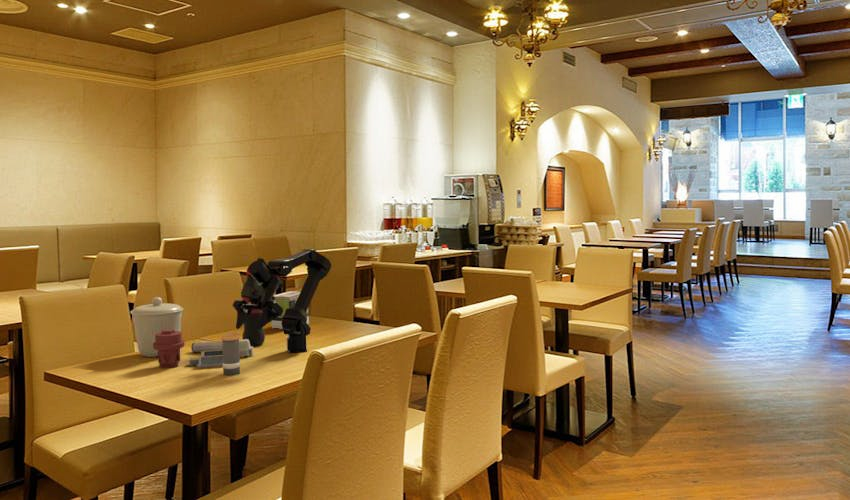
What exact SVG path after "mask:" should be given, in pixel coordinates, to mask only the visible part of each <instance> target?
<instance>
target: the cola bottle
mask: <svg viewBox="0 0 850 500" xmlns="http://www.w3.org/2000/svg"><path fill="white" fill-rule="evenodd" d="M246 275H247V276H246V281H245V282H244V284H243V286H242V289H243V287H253V288H255V287H256V286H260V285H261V283H258V282H257V281H256V280H255V279H254V278H253V277H252V276H251V274H250V273H249V272H248V268H246ZM242 289H241V291H240V294H241V293H242ZM241 300H245V301H246V302H247V303H248V304H251V302H249V301H248V298H246V297H241ZM261 315H262V311H259V310H252V312H251V313H250V314H249V316H250V317H249V318H248V319H247V320H246V321H245V322H244V324H243V327H244V328H243V332H242V340H245V339H248V340H249V342H250V346H251V347H259V346H261V345H263V344H264V343H265V338H266V334H265V330H264V327H262V328H261V329H260V330H257V329H256V327H257V324H258V322H259V320H260V318H261Z"/></svg>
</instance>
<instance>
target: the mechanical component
mask: <svg viewBox="0 0 850 500" xmlns="http://www.w3.org/2000/svg"><path fill="white" fill-rule="evenodd" d="M182 335H183V334H182V332H181V331H180V332H179V331H175V330H174V329H167V330H163V331H162V332H159V333H157V334H155V343H153V348H154V349H155V350H158V357H157V359H158V360H157V363H158V364H159V366H158V367H159V368H160V369H164V368H178V367H179V363H180V362H181V349H182V348H184V347H185V345H186V344H185V340H183V337H182Z"/></svg>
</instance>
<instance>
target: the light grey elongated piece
mask: <svg viewBox="0 0 850 500" xmlns="http://www.w3.org/2000/svg"><path fill="white" fill-rule="evenodd" d="M190 347H191V351H192V352H193V353H201V352H202V351H212V350H222V340H220V341H218V340H217V341H215V340H213V341H212V340H211V341H205V340H201V341H195V342H192V344H191V346H190ZM253 350H254V346H250V342H249V340H248V339H245V340H243V339H241V340H240V339H239V358H245V357H246V356H247V357H250V356H254V355H253V354H254V353H253Z"/></svg>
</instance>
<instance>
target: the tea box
mask: <svg viewBox="0 0 850 500" xmlns="http://www.w3.org/2000/svg"><path fill="white" fill-rule="evenodd" d="M300 292H301V291H285V292H282V293H278V294H274V297H275V299H274V300H271V301H276V302H277V303H278V304H279V305H280V306H281V307H282V308H283V313H282V315H281V316H278V318H275V319H274V320H272V321H271V328H272V329H274V328H279V329H278V330H283V328H282V319H283V318H282V317H283V316H284V314H285V311H286V309H287V308H290V309H292V308H293V307H294V305H295V303H296V301H297V299H298V296H299V294H300ZM306 316H307V322H306V323H307V324H308V325H309V324H310V317H309V308H308V309H307V311H306Z"/></svg>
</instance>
